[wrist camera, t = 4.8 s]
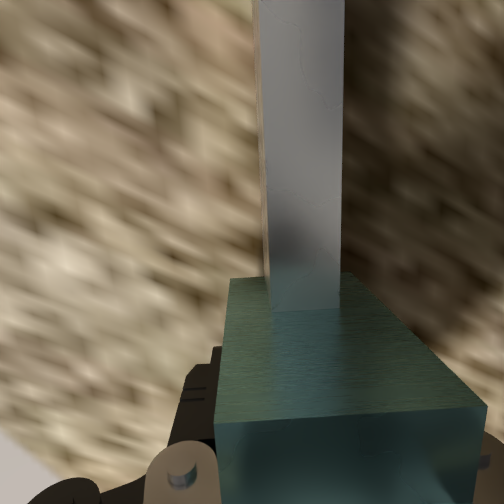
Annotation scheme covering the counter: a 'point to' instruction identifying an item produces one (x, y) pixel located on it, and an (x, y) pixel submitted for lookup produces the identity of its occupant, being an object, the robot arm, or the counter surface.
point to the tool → (325, 318)
